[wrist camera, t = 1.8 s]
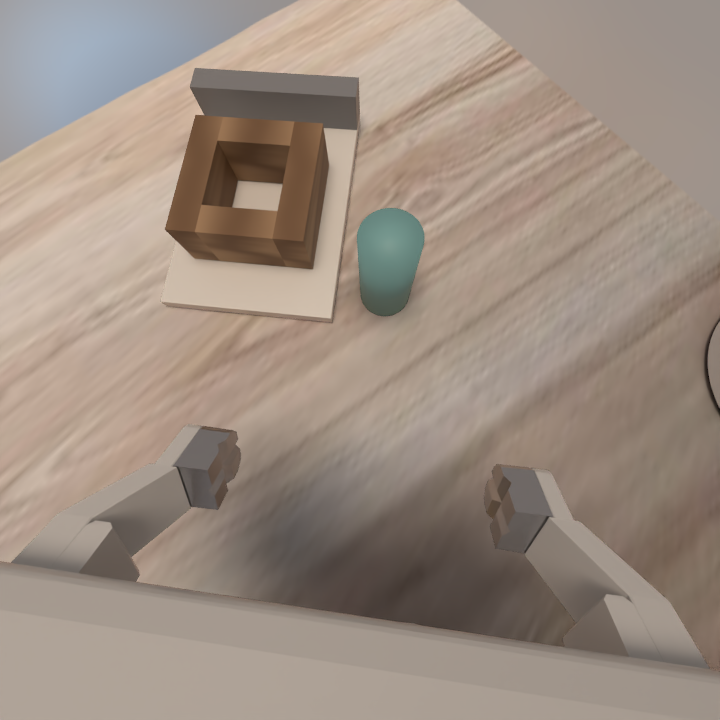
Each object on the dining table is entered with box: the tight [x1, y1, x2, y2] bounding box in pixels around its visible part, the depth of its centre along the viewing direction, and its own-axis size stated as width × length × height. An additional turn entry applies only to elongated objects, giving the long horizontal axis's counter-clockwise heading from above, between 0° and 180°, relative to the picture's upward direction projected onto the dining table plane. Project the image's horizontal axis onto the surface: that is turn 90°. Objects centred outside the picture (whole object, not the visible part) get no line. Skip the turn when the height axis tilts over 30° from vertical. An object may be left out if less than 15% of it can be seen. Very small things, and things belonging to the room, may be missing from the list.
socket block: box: [165, 115, 329, 269], centre depth 26 cm, size 10×10×4 cm
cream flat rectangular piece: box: [160, 68, 360, 323], centre depth 28 cm, size 14×20×4 cm
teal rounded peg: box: [357, 208, 424, 316], centre depth 24 cm, size 4×4×8 cm
